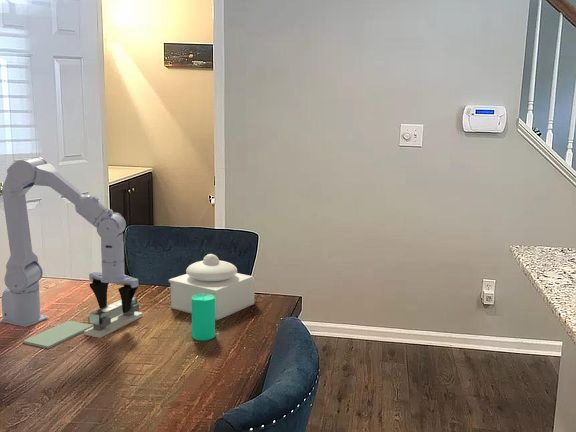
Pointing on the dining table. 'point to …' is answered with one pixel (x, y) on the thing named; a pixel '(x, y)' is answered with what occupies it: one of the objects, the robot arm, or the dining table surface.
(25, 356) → the dining table surface
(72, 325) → the mat
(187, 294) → the butter dish
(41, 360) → the dining table surface
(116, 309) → the rail
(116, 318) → the standards
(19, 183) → the robot arm
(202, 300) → the candle
